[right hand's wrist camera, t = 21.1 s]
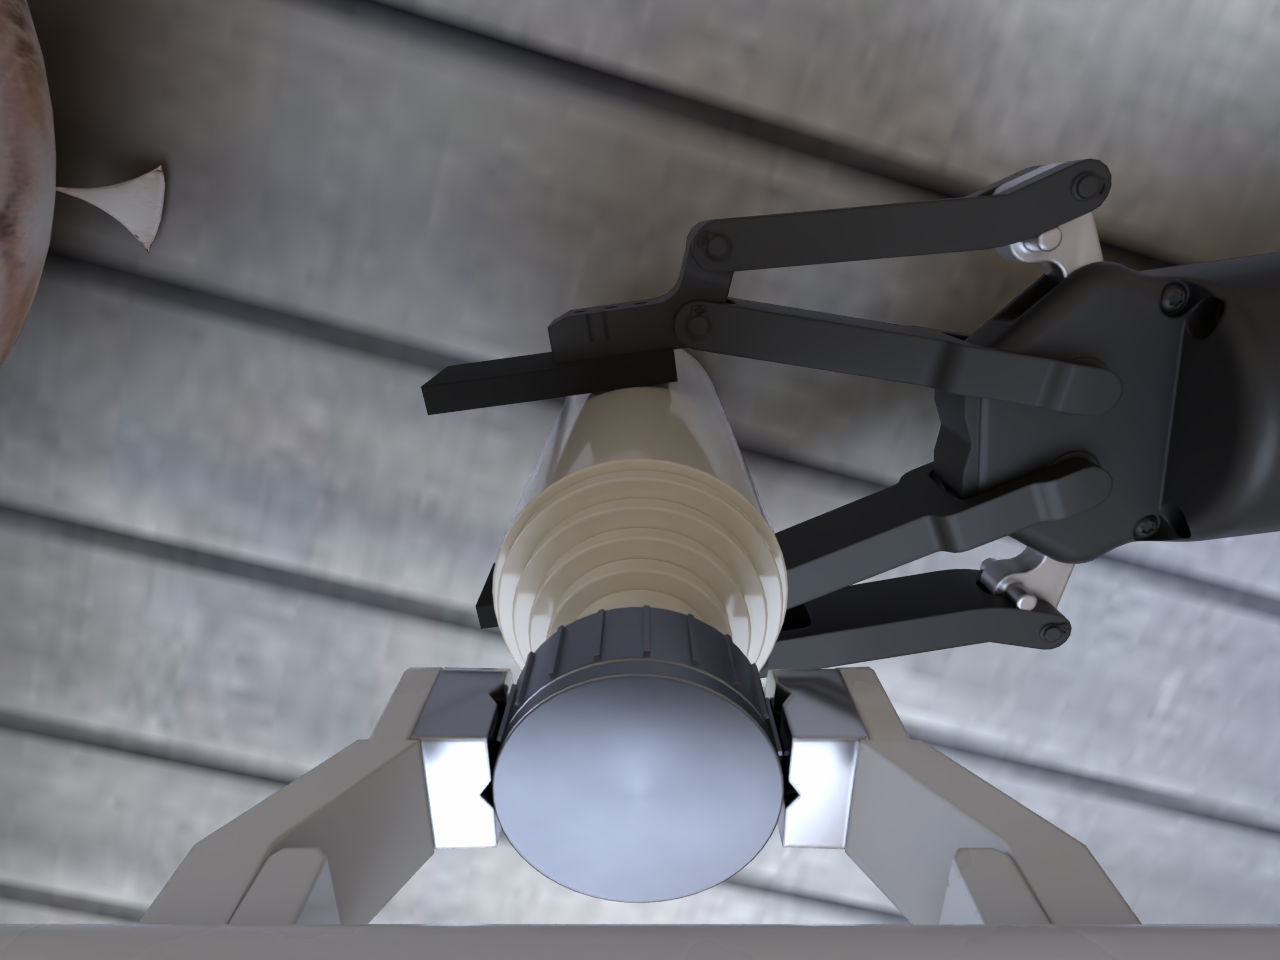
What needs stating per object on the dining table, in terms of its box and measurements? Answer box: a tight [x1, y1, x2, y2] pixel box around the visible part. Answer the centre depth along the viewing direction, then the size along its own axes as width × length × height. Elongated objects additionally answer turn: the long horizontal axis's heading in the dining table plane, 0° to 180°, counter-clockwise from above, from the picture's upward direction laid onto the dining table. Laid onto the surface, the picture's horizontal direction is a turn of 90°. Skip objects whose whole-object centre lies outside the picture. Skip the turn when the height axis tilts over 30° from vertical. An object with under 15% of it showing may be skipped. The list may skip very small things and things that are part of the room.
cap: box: [492, 605, 784, 903], centre depth 10 cm, size 4×4×2 cm
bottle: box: [492, 349, 788, 672], centre depth 18 cm, size 6×6×18 cm
